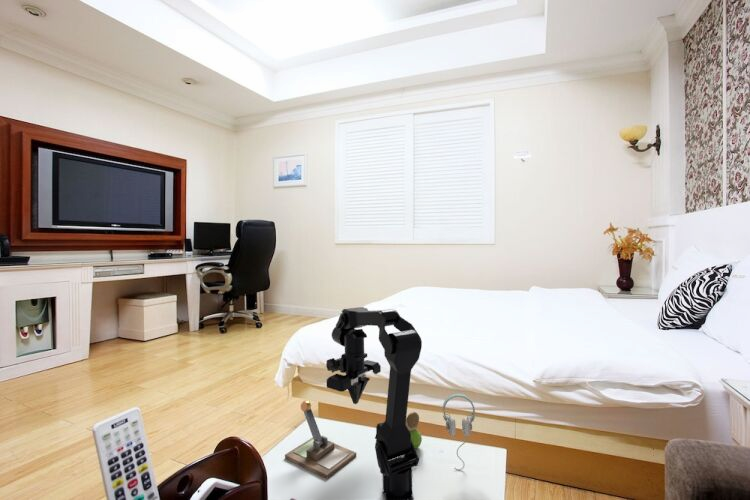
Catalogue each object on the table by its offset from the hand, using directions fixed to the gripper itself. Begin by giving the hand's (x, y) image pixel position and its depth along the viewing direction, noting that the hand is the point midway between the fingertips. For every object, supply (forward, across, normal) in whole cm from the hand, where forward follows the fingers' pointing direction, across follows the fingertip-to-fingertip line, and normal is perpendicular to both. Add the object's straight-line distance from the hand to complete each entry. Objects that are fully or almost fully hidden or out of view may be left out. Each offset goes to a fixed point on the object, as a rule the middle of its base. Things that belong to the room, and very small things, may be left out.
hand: (355, 403), depth 107 cm
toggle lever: (+10, +9, -5) cm, 15 cm away
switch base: (+13, +9, -5) cm, 17 cm away
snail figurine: (+13, -8, +14) cm, 21 cm away
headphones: (+13, -7, +29) cm, 33 cm away
